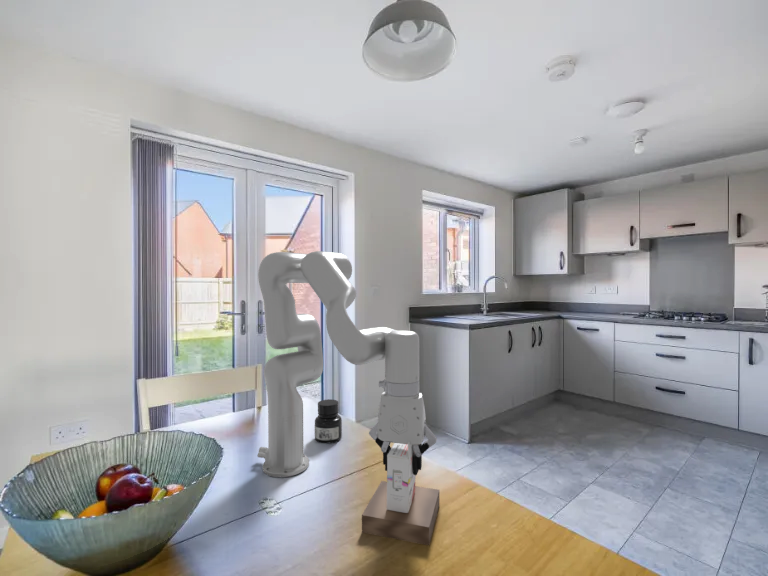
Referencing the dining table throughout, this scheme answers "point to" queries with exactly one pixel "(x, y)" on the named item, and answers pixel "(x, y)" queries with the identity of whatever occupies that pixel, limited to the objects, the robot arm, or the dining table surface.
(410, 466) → the ink cartridge box
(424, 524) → the walnut block
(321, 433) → the ink bottle
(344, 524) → the dining table surface
